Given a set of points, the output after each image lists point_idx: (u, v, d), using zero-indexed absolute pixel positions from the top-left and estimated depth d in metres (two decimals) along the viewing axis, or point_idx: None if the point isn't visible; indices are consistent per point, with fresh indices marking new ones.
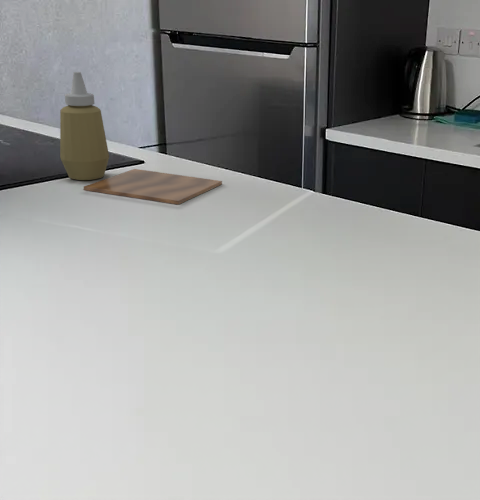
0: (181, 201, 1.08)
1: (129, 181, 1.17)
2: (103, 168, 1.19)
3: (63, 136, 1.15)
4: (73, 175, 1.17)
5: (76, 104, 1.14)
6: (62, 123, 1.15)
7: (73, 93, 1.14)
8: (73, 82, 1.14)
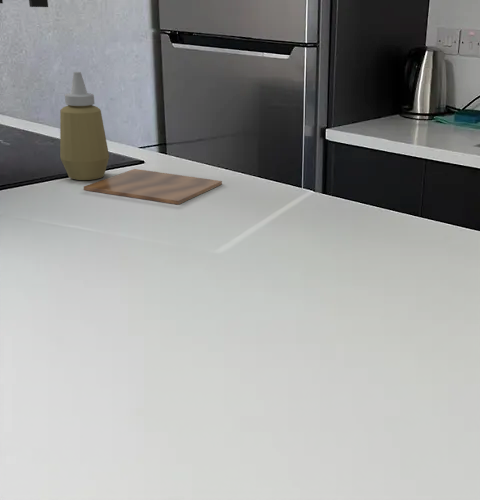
0: (181, 201, 1.08)
1: (129, 181, 1.17)
2: (103, 168, 1.19)
3: (63, 136, 1.15)
4: (73, 175, 1.17)
5: (76, 104, 1.14)
6: (62, 123, 1.15)
7: (73, 93, 1.14)
8: (73, 82, 1.14)
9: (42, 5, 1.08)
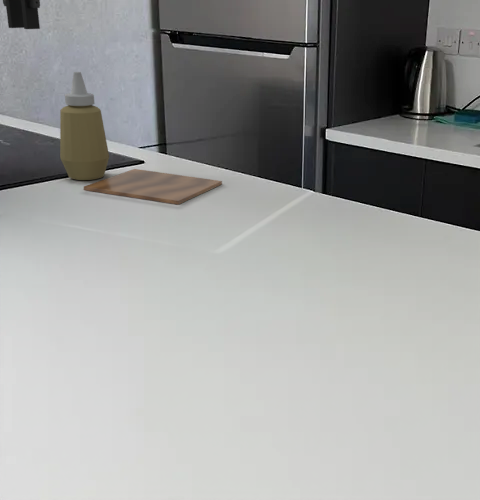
0: (181, 201, 1.08)
1: (129, 181, 1.17)
2: (103, 168, 1.19)
3: (63, 136, 1.15)
4: (73, 175, 1.17)
5: (76, 104, 1.14)
6: (62, 123, 1.15)
7: (73, 93, 1.14)
8: (73, 82, 1.14)
9: (35, 27, 1.14)
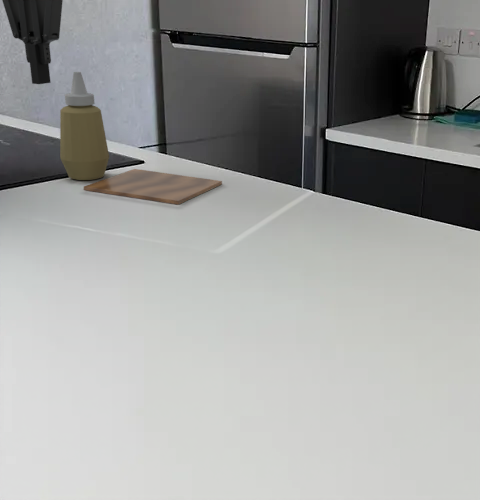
0: (181, 201, 1.08)
1: (129, 181, 1.17)
2: (103, 168, 1.19)
3: (63, 136, 1.15)
4: (73, 175, 1.17)
5: (76, 104, 1.14)
6: (62, 123, 1.15)
7: (73, 93, 1.14)
8: (73, 82, 1.14)
9: (46, 81, 1.17)
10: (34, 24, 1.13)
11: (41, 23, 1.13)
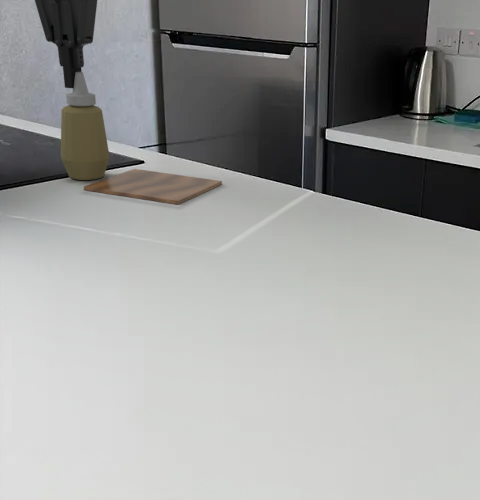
0: (181, 201, 1.08)
1: (129, 181, 1.17)
2: (103, 168, 1.19)
3: (63, 135, 1.15)
4: (73, 175, 1.17)
5: (77, 104, 1.14)
6: (63, 122, 1.15)
7: (75, 93, 1.14)
8: (75, 82, 1.14)
9: None
10: (67, 27, 1.11)
11: (75, 26, 1.11)
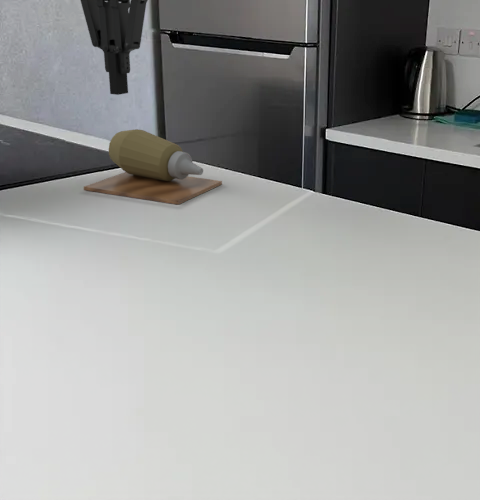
0: (181, 201, 1.08)
1: (129, 181, 1.17)
2: (117, 164, 1.19)
3: (150, 138, 1.16)
4: (117, 134, 1.19)
5: (170, 160, 1.14)
6: (161, 141, 1.16)
7: (183, 161, 1.15)
8: (192, 164, 1.15)
9: (124, 92, 1.13)
10: (115, 32, 1.08)
11: (122, 31, 1.08)
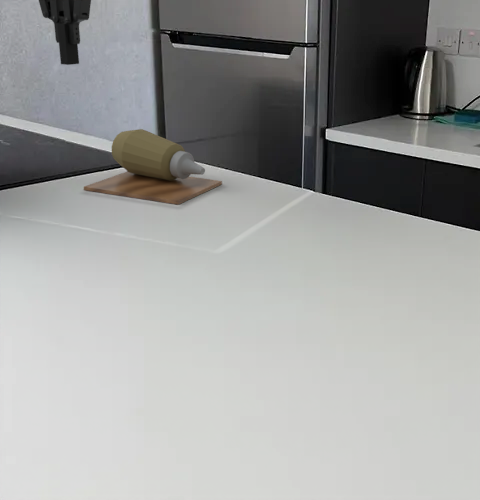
0: (181, 201, 1.08)
1: (129, 181, 1.17)
2: (118, 162, 1.19)
3: (155, 137, 1.17)
4: (122, 133, 1.20)
5: (172, 157, 1.15)
6: (165, 140, 1.17)
7: (185, 160, 1.15)
8: (194, 164, 1.15)
9: (75, 62, 1.16)
10: (64, 3, 1.11)
11: (71, 2, 1.11)
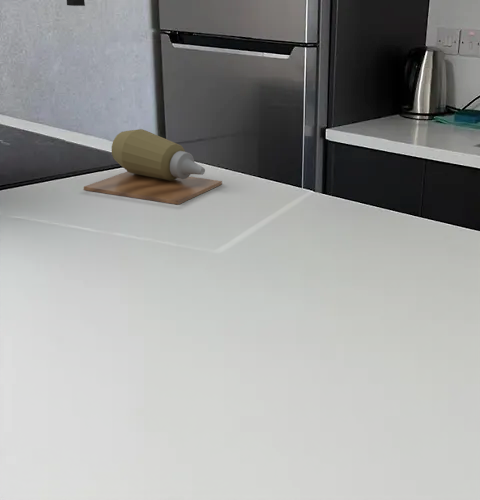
0: (181, 201, 1.08)
1: (129, 181, 1.17)
2: (118, 162, 1.19)
3: (155, 137, 1.17)
4: (122, 133, 1.20)
5: (172, 157, 1.15)
6: (165, 140, 1.17)
7: (185, 160, 1.15)
8: (194, 164, 1.15)
9: (80, 4, 1.17)
10: None
11: None
